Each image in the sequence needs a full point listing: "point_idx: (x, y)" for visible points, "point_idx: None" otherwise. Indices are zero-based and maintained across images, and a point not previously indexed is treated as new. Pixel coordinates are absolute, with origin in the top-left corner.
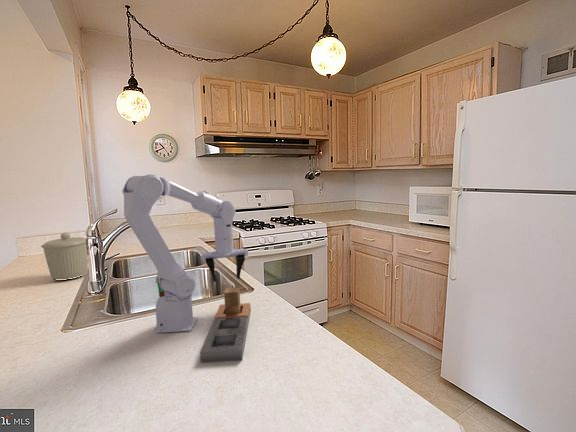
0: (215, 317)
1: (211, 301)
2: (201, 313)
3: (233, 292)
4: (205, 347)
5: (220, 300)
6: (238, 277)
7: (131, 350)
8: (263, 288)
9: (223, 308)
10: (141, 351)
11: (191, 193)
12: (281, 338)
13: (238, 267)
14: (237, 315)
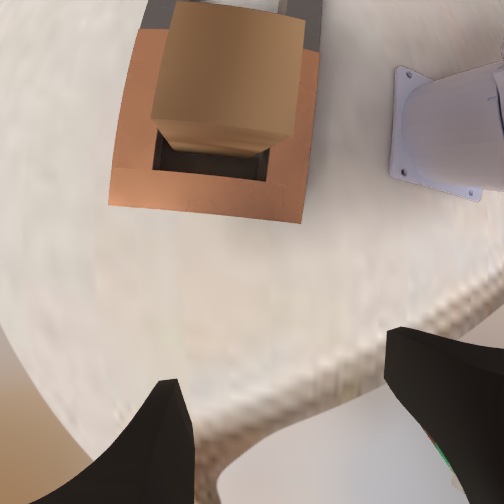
0: (315, 52)
1: (329, 372)
2: (374, 238)
3: (218, 4)
4: None
5: (288, 379)
6: (166, 382)
7: (492, 46)
8: (94, 458)
9: (279, 156)
10: (473, 27)
11: None
12: None
13: (144, 455)
14: None
